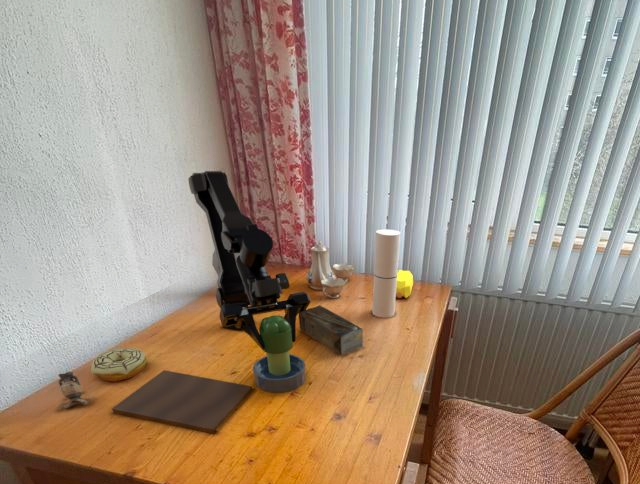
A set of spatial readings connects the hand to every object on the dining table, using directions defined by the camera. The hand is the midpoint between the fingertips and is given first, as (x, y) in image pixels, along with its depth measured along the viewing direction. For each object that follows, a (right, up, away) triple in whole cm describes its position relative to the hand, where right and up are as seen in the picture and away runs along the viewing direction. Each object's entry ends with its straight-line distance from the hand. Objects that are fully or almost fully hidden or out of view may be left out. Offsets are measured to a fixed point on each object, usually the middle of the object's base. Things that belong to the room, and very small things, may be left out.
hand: (279, 345), depth 82 cm
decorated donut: (-38, -5, +6) cm, 39 cm away
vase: (-41, -12, -3) cm, 42 cm away
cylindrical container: (+22, +15, +42) cm, 50 cm away
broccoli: (-1, -5, +5) cm, 7 cm away
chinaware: (+3, +27, +59) cm, 65 cm away
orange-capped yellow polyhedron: (+29, +25, +59) cm, 70 cm away
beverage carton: (+8, +4, +25) cm, 26 cm away
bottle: (-28, +23, +49) cm, 61 cm away
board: (-19, -12, -2) cm, 22 cm away
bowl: (-1, -8, +7) cm, 10 cm away
